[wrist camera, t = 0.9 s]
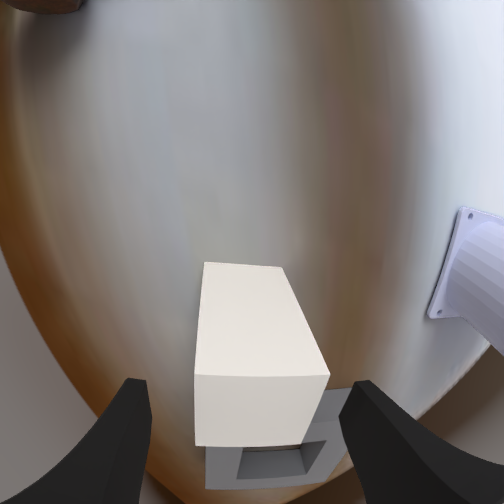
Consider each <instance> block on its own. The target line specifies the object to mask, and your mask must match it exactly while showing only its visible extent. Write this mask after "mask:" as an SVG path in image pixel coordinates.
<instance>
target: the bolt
mask: <svg viewBox="0 0 504 504" xmlns="http://www.w3.org/2000/svg"><path fill="white" fill-rule="evenodd" d="M2 1H3V2H5V3H6V4H8V5H10V6H12V7H14V8H16V9H19V10H22V11H28V12H34V13H39V14H66V13H70V12H72V11H75V10H78V9H79V8H80V6H81V4H82V3H83V1H84V0H2Z"/></svg>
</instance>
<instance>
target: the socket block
mask: <svg viewBox="0 0 504 504" xmlns="http://www.w3.org/2000/svg"><path fill="white" fill-rule="evenodd" d="M351 389H352V388H343V389H332V390H324V392H323V394H322V397H321V399H320V402H319V404H318V406H317V409H316V411H315V413H314V416H313V418H312V420H311V423H310V425H309V427H308V429H307V432H306V434H305V436H304V438H303V440H302V442H301V443H302V445H301V447H300V449H293V450H280V451H260V452H242V451H243V447H212V446H205V488H206V489H218V490H240V489H265V488H278V487H289V486H297V485H305V484H312V483H319V482H325V480H326V479H327V478H328V476H329V475H330V474H331V472H332V471H333V470H334V468H335V467H336V466H337V464H338V463H339V462H340V460H341V459H342V457H343V456H344V454H345V453H346V451H347V450H348V449H347V447H346V444H345V441H344V438H343V435H342V431H341V426H340V422H339V417H338V416H339V414H340V412H341V410H342V408H343V406H344V404H345V402H346V400H347V398H348V395H349V393H350V391H351Z"/></svg>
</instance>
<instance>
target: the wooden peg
mask: <svg viewBox="0 0 504 504" xmlns="http://www.w3.org/2000/svg"><path fill="white" fill-rule="evenodd" d="M329 377H330V372H329V370H328V368H327V366H326V363H325V361H324V359H323V357H322V354H321V352H320V350H319V348H318V346H317V343H316V341H315V339H314V337H313V334H312V332H311V330H310V328H309V326H308V323H307V321H306V319H305V317H304V315H303V312H302V310H301V308H300V306H299V304H298V302H297V299H296V297H295V295H294V293H293V291H292V289H291V286H290V284H289V282H288V280H287V278H286V276H285V274H284V271H283V269H282V267H271V266H256V265H242V264H228V263H215V262H204V271H203V280H202V290H201V300H200V311H199V322H198V333H197V346H196V359H195V373H194V398H195V446H212V447H262V446H281V445H295V444H301V442H302V440H303V438H304V436H305V434H306V432H307V429H308V427H309V425H310V423H311V420H312V418H313V416H314V413H315V411H316V409H317V406H318V404H319V402H320V399H321V397H322V394H323V392H324V389H325V387H326V384H327V382H328V379H329Z"/></svg>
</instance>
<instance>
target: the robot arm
mask: <svg viewBox="0 0 504 504" xmlns="http://www.w3.org/2000/svg"><path fill="white" fill-rule="evenodd" d="M468 216H469V217H468ZM427 315H428V316H429V317H430V318H431V319H436V318H449V317H461V316H462V317H463V318H464V319H465V320H466V321H467V322H469V323H470V324H471V325H472V326H473V327H474V328H475V329H476V330H477V331H478V332H479V333H480V334H481V335H483V336H484V337H485V338H486V339H487V340H488V341H489V342H490V343H491V344H492V345H493V346H494V347H495V348H496V349H497V350H498V351H499V352H500V353H501V354H502V355H503V356H504V219H503V218H500V217H497V216H494V215H491V214H487V213H484V212H481V211H477V210H474V209H470V208H467V207H462V208H460V210H459V212H458V216H457V220H456V224H455V228H454V232H453V235H452V239H451V243H450V246H449V250H448V253H447V256H446V260H445V263H444V266H443V269H442V272H441V275H440V278H439V281H438V284H437V287H436V290H435V292H434V295H433V298H432V300H431V303H430V306H429V308H428V311H427ZM338 417H339V422H340V426H341V431H342V435H343V438H344V441H345V444H346V447H347V449H348V452H349V454H350V457H351V459H352V462H353V464H354V467H355V469H356V472H357V474H358V477H359V479H360V482H361V485H362V488H363V491H364V494H365V498H366V503H367V504H502V503H504V465H500V464H496V463H492V462H489V461H486V460H483V459H481V458H478V457H475V456H473V455H471V454H469V453H466V452H464V451H462V450H460V449H458V448H456V447H454V446H452V445H451V444H449V443H448V442H446V441H444V440H443V439H441V438H439V437H438V436H436V435H435V434H433V433H432V432H431V431H429V430H428V429H427V428H425V427H424V426H423V425H421V424H420V423H419V422H417V421H416V420H415V419H414V418H412V417H411V416H410V415H409V414H408V413H406V412H405V411H404V410H403V409H402V408H401V407H399V406H398V405H397V404H396V403H395V402H394V401H393V400H392V399H390V398H389V397H388V396H387V395H386V394H385V393H384V392H383V391H381V390H380V389H379V388H378V387H377V386H376V385H375V384H373V383H372V382H371V381H370V380H365V381H356V382H355V383H354V385H353V387H352V389H351V391H350V393H349V395H348V398H347V400H346V402H345V404H344V406H343V408H342V410H341V412H340V414H339V416H338ZM151 424H152V413H151V408H150V402H149V396H148V390H147V384H146V380H140V379H133V378H127V379H126V380H125V382H124V383H123V385H122V386H121V388H120V389H119V391H118V392H117V394H116V395H115V397H114V398H113V400H112V401H111V403H110V404H109V405H108V407H107V408H106V410H105V411H104V412H103V414H102V415H101V416H100V417H99V419H98V420H97V422H96V423H95V424H94V425H93V427H92V428H91V429H90V430H89V431H88V433H87V434H86V435H85V436H84V437H83V438H82V439H81V441H80V442H79V443H78V444H77V445H76V446H75V447H74V448H73V449H72V450H71V451H70V453H68V455H66V456H65V457H64V458H63V459H62V460H61V461H60V462H59V463H58V464H57V465H56V466H55V467H54V468H52V469H51V470H50V471H49V472H48V473H46V474H45V475H44V476H43V477H41V478H40V479H39V480H38V481H36V482H35V483H33V484H32V485H30V486H29V487H27V488H26V489H24V490H23V491H21V492H20V493H18V494H17V495H15V496H13V497H11V498H10V499H8V500H6V501H4V502H2V503H0V504H139V496H140V490H141V484H142V479H143V474H144V469H145V464H146V459H147V454H148V449H149V444H150V435H151Z"/></svg>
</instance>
